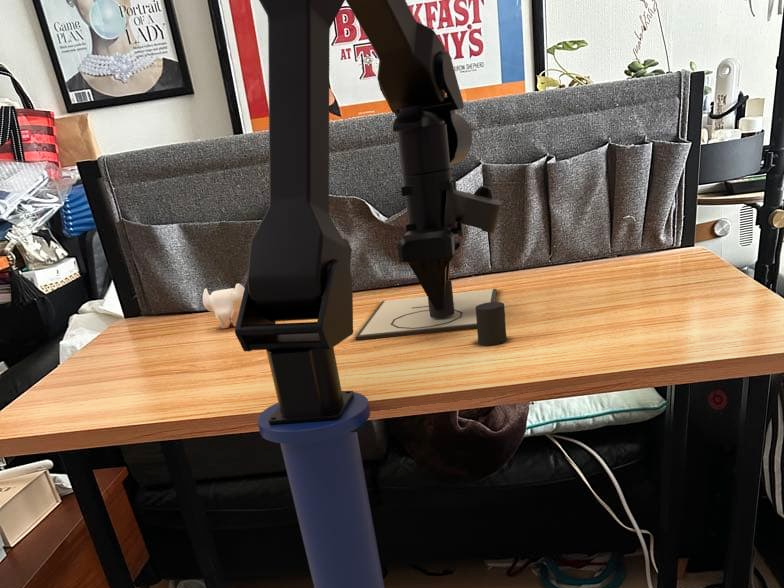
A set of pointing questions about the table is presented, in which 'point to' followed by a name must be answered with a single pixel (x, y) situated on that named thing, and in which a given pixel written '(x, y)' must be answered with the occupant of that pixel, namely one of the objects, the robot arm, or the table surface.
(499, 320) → the eye puck
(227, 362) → the table surface
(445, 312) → the eye puck
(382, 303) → the sketch board
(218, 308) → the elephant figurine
